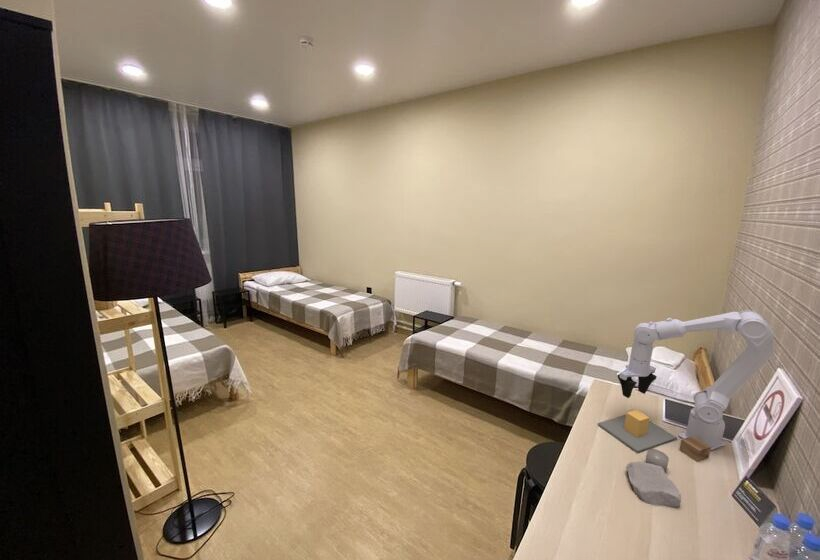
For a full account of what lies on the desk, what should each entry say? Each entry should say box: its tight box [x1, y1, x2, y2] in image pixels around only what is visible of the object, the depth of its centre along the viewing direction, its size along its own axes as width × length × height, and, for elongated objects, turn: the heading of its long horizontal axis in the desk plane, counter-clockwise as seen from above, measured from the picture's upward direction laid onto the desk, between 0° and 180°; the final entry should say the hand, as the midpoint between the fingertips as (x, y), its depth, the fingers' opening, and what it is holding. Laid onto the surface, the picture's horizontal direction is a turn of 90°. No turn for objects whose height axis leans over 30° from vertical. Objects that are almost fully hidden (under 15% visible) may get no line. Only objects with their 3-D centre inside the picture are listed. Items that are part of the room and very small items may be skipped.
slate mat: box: [597, 414, 678, 454], centre depth 111 cm, size 18×14×1 cm
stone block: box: [625, 461, 682, 508], centre depth 89 cm, size 12×5×10 cm
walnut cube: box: [678, 436, 712, 463], centre depth 101 cm, size 5×5×4 cm
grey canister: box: [644, 448, 670, 474], centre depth 96 cm, size 5×5×4 cm
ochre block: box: [624, 409, 650, 437], centre depth 109 cm, size 4×4×6 cm
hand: (633, 394), depth 116 cm, fingers open, 7 cm apart
